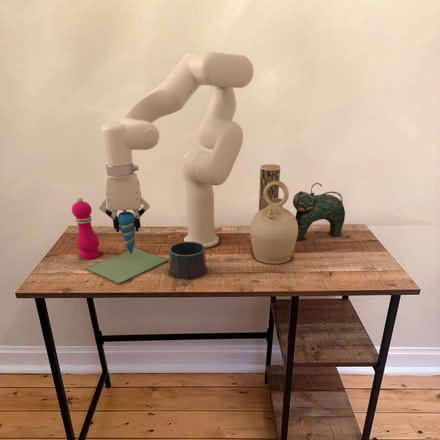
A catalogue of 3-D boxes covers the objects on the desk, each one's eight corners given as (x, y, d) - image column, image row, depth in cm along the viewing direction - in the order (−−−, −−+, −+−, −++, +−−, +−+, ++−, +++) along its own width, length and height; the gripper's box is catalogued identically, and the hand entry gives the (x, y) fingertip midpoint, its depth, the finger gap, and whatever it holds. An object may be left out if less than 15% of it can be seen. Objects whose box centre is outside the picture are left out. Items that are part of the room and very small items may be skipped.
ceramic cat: (293, 242, 144) (298, 186, 134) (286, 235, 150) (291, 181, 140) (344, 237, 148) (352, 182, 138) (335, 230, 154) (343, 177, 144)
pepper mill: (95, 260, 133) (84, 201, 123) (75, 259, 134) (62, 200, 124) (104, 251, 139) (95, 194, 129) (85, 250, 140) (74, 193, 130)
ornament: (142, 253, 128) (137, 207, 120) (128, 258, 125) (122, 211, 117) (132, 249, 131) (126, 203, 123) (119, 253, 128) (112, 207, 120)
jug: (263, 243, 144) (266, 172, 131) (303, 253, 136) (311, 179, 123) (240, 258, 133) (241, 182, 120) (282, 270, 125) (288, 190, 113)
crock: (187, 260, 132) (186, 238, 129) (212, 269, 127) (212, 247, 123) (163, 271, 125) (161, 249, 122) (189, 282, 119) (187, 259, 116)
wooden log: (277, 232, 153) (282, 165, 140) (273, 239, 147) (278, 169, 135) (260, 230, 155) (263, 163, 142) (255, 237, 149) (258, 168, 137)
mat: (135, 248, 141) (135, 247, 141) (167, 261, 132) (167, 259, 132) (86, 269, 127) (86, 268, 127) (119, 284, 119) (119, 282, 118)
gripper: (150, 166, 119) (156, 225, 128) (91, 168, 117) (101, 227, 126) (149, 172, 112) (155, 233, 121) (87, 174, 111) (97, 236, 120)
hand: (127, 229), depth 124 cm, fingers closed on ornament, 5 cm apart
